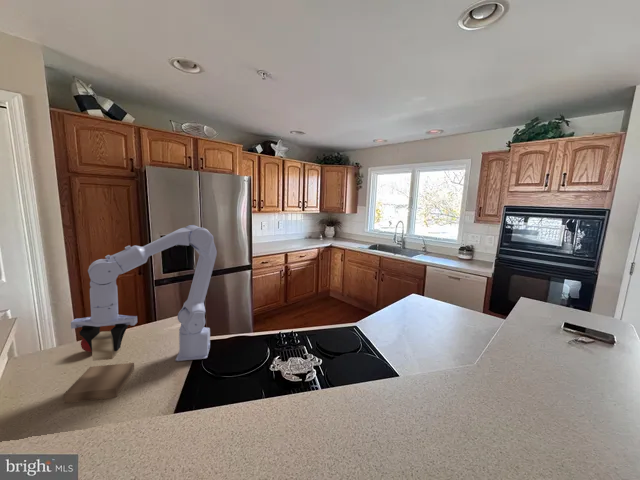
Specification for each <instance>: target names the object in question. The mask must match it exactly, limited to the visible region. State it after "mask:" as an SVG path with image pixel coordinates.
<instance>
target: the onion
mask: <svg viewBox="0 0 640 480" xmlns="http://www.w3.org/2000/svg"><path fill="white" fill-rule="evenodd" d="M100 332H101V331H100ZM100 332H99V333H100ZM80 347H81V349H82V350H83V351H85V352H88V353H92V351H91V348H90V346H89V344H88V343H87V341H86V340H85V339H84V338H83V337H82V339H81V340H80Z"/></svg>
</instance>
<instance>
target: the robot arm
mask: <svg viewBox="0 0 640 480" xmlns="http://www.w3.org/2000/svg"><path fill="white" fill-rule="evenodd" d="M214 238H215V237H214V235H213V234H212V233H211V232H210V231H209V230H208V229H207V228H205V227H200V226H197V225H196V224H190V225H187V226H185V227H181V228H178V229H176V230H174V231H172V232H169V233H168V234H166V235H163V236H162V237H159V238H158V239H156V240H154V241H151V242H150V243H148V244H145V245H143V246H140V245H137V244H136V245H132V246H131V245H127V246H125V247H124V249H123V250H121V251H119V252H116V253H114V254H111V255H110V254H107V255H106V256H104V258H100V259H97V260H94V261H92V262H91V263H90V265H89V266H88V269H87V273H88V276H89V279H90V281H89V287H90V288H89V301H90V302H89V303H90V316H87V317H81V318H80V317H79V318H75V319H73V320H71V321H70V328H71V330H72V329H77V328H81V330H80V331H78V333H79V336H81V337H82V339H83V338H84V339H85V340H86V341H87V343H88V344H89V346H90V348H91V351H92V339H93V338H94V337H96V336H97V335H98V334H99V332H101V331H100V330H101V327H108V326H109V327H110V326H114V327H112V328H111V329H110V331H111V334H112V337H113V347H114V351H118V349H119V348H120V349H121V345H122V341H123V338H124V335H125V333H126V330H127V329H128V327H129V325H130V326H135V325H136V324H137V323H138V315H125V314H119V295H118V285H117V279H118V276H120V275H122V274H123V275H124V274H125V273H127V272H129V271H131V270H133V269H135V268H137V267H140V266H142V265H144V264H146V263H148V260H149V257H151V256H153V255H156V254H158V253H161V252H163V251H165V250H167V249H170V248H173V247H174V246H177V245H178V246H187V247H188V246H191V247H192V248H194V250H195V251H196V252H197V254H198V259H197V263H196V266H195V270H194V274H193V278H192V283H191V286H190V289H189V293H188V296H187V299H186V300H185V302H183V306H182V307H181V309H180V310H179V312H178V313H177V320H178V322H179V323H180V327H179V329H178V332H179V333H178V336H179V337H178V338H179V343H178V344H179V351H178V353H177V355H176V358H175V362H182V361H191V360H202V359H203V360H204V359H207V358H208V356H209V352H210V349H211V328H210V327H205V325H206V318H205V315H206V307H205V301H206V296H207V294H208V289H209V285H210V282H211V277H212V274H213V270H214V267H215V263H216V259H217V255H218V251H217V247H216V244H215V241H214Z"/></svg>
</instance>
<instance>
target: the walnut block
mask: <svg viewBox="0 0 640 480" xmlns="http://www.w3.org/2000/svg"><path fill="white" fill-rule="evenodd" d="M134 372H135V362H129V363H127V362H126V363H119V364H117V363H115V364H107V365H106V364H105V365H94V366H90V367H89V368H87V369H86V370H85V371H84V372H83V373H82V375H80V376H79V378H78V379H77V380H76V381H75V382H74V383H72V385H71V386H70V387H69V388H68V389H67V391H66V392H65V393H63V399H64V401H63V402H64V404H70V403H78V402H79V403H80V402H86V401H87V402H88V401H95V400H102V399H104V400H105V399H112V398H117V397H118V396H119V394H120V393H121V391H122V390H123V388H124V387H125V383H127V382H128V380H129V379H130V378H131V376H132V375H133V373H134ZM131 374H132V375H131ZM129 377H130V378H129Z"/></svg>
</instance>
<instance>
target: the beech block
mask: <svg viewBox="0 0 640 480" xmlns="http://www.w3.org/2000/svg"><path fill="white" fill-rule="evenodd" d="M120 351H121V347H120V348H119V349H118V351H114V347H113V337H112V334H111V330H109V331H108V330H107V331H100V333H99V334H98V335H97V336H96V337H94V338H93V339H92V352H91V354H92V361H93V362H94V361H107V360H113V359H114V358H115V357H116V356H117V355H118V353H119V352H120Z"/></svg>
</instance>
